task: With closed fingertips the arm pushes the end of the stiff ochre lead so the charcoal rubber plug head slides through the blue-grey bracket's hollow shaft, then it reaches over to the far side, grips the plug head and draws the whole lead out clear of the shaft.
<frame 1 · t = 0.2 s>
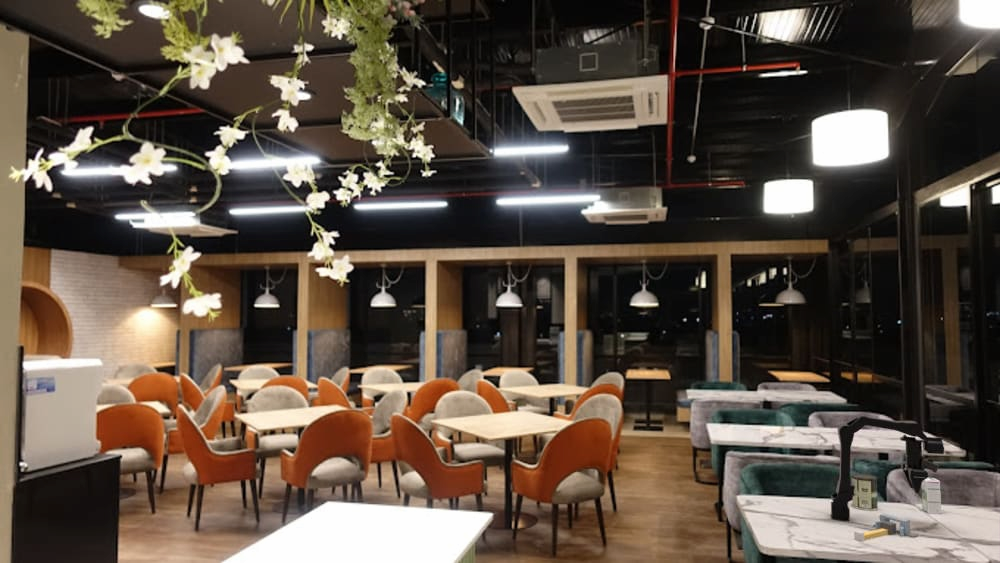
hand: (914, 490, 272), 15 cm above the table, fingers open, 9 cm apart
syrup box: (931, 512, 293), on the table
plug: (888, 533, 262), on the table
coffee can: (864, 508, 299), on the table
blue-grey bracket: (895, 531, 264), on the table
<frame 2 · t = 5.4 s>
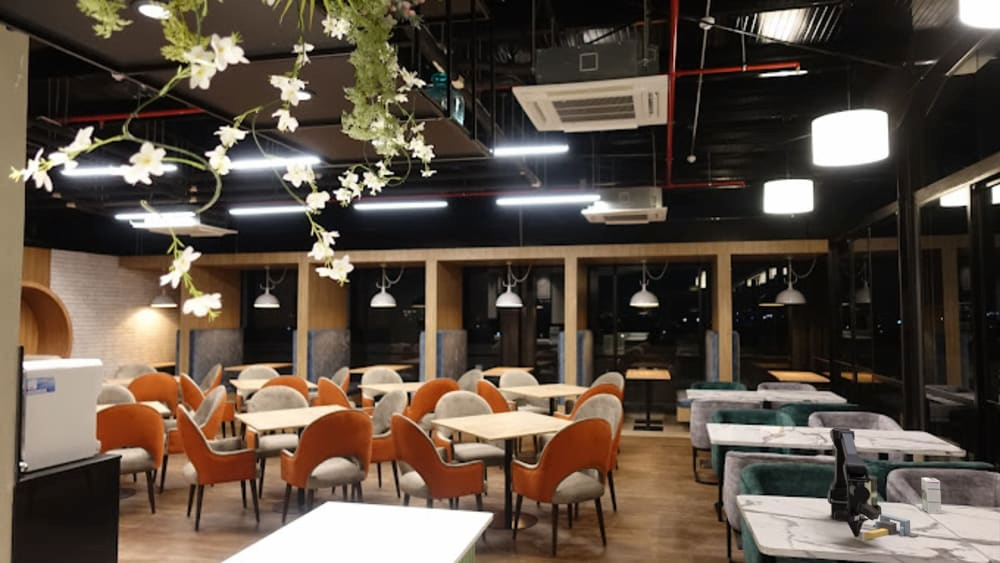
hand: (856, 536, 252), 1 cm above the table, fingers closed
plug: (888, 532, 262), on the table, touching gripper
everything else where it was.
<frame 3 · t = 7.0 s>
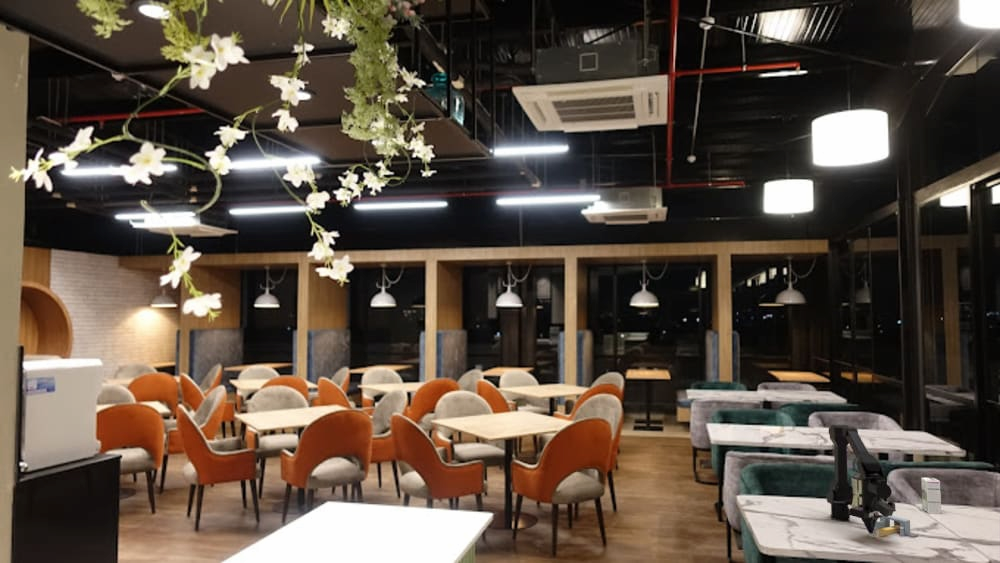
hand: (870, 533, 256), 2 cm above the table, fingers closed
plug: (902, 529, 266), on the table, touching gripper
everything else where it was.
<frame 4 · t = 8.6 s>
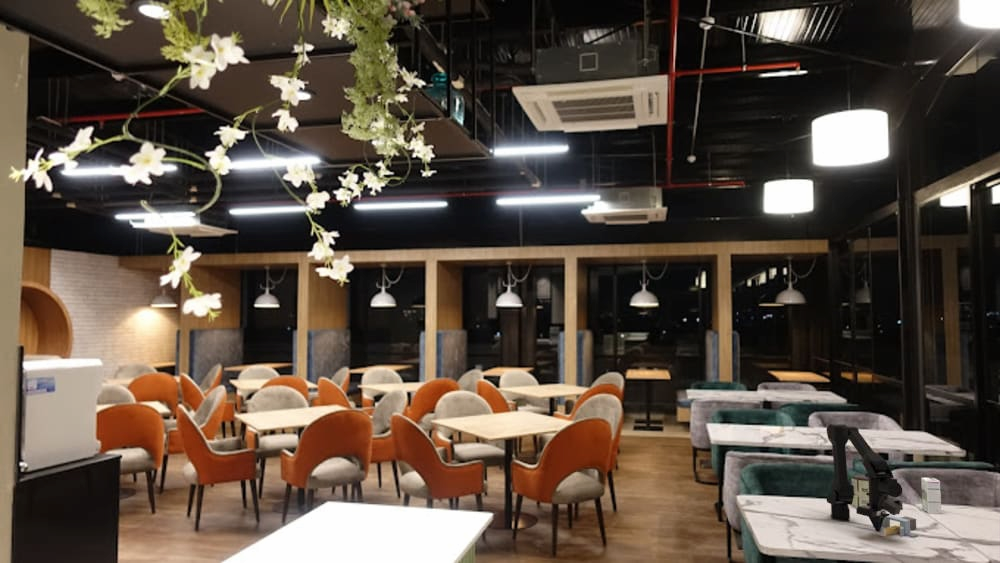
hand: (877, 531, 258), 2 cm above the table, fingers closed
plug: (908, 528, 269), on the table, touching gripper
everything else where it was.
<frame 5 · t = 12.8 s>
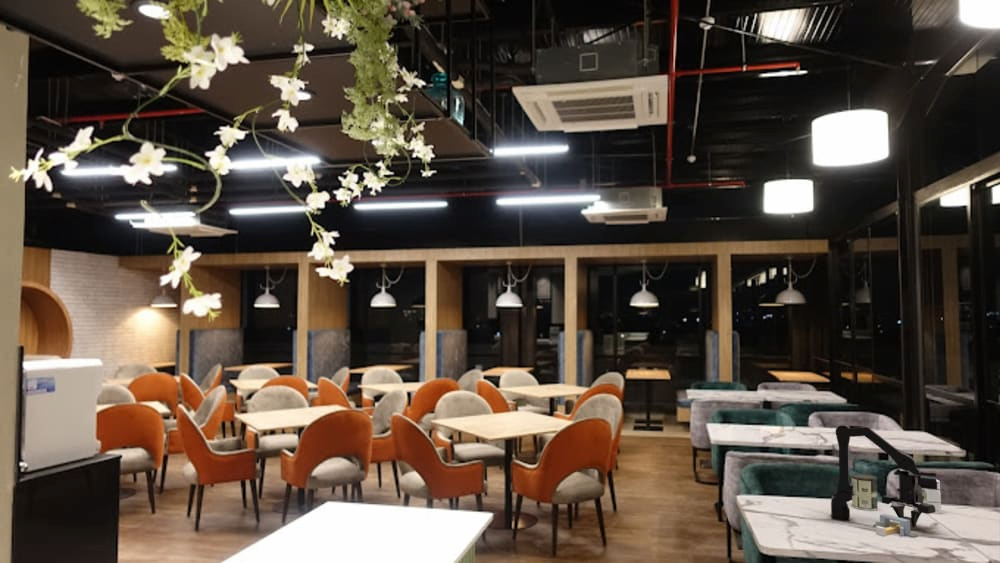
hand: (908, 525, 269), 1 cm above the table, fingers closed on plug, 4 cm apart
plug: (908, 528, 269), on the table, touching gripper
everything else where it was.
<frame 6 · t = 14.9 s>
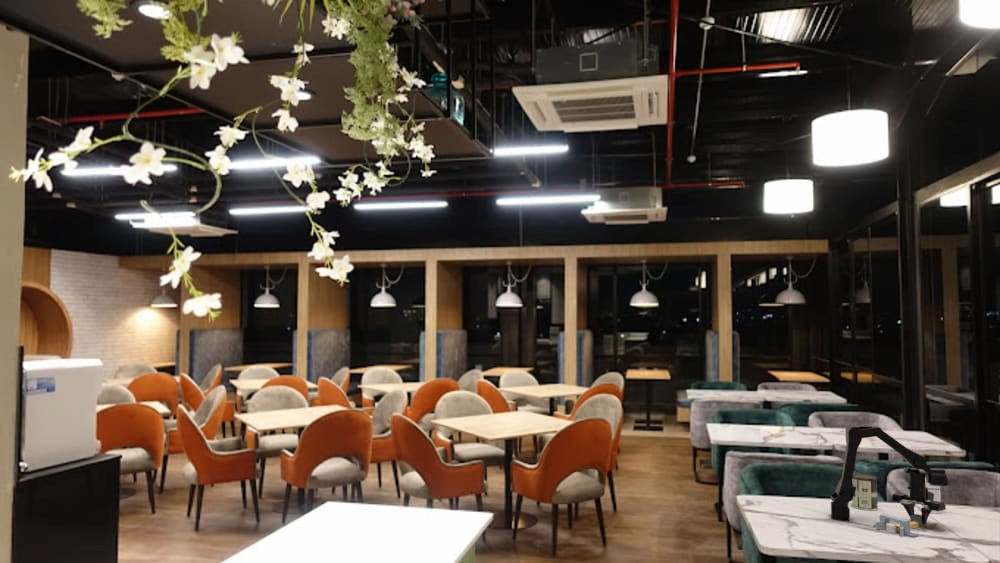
hand: (918, 522, 272), 1 cm above the table, fingers closed on plug, 4 cm apart
plug: (918, 525, 272), on the table, touching gripper
everything else where it was.
when the fingers open (1 cm above the table, at t = 17.0 s): plug stays where it is, on the table.
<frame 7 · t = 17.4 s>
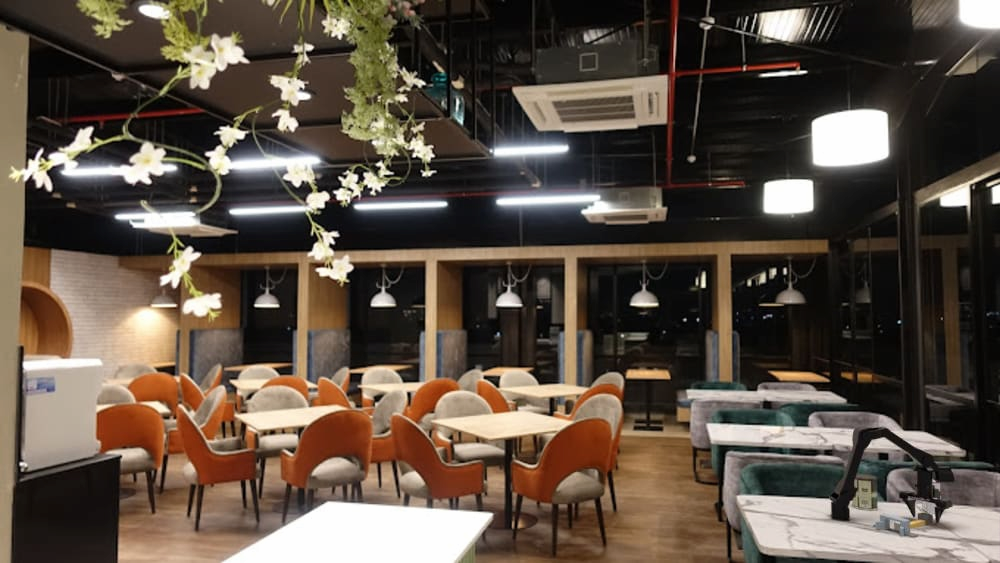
hand: (925, 520, 275), 1 cm above the table, fingers open, 9 cm apart
plug: (925, 524, 275), on the table
everything else where it was.
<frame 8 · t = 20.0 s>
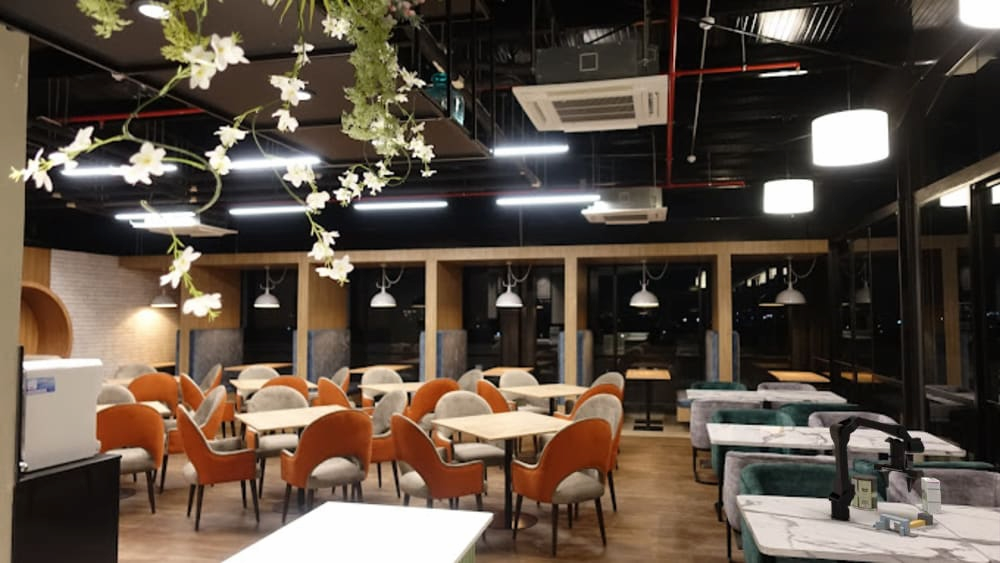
hand: (898, 490, 283), 12 cm above the table, fingers open, 9 cm apart
nothing on the table moved.
at the end: plug inside the target area on the table beside the blue-grey bracket (0.3 cm from its centre), on the table; plug on the table; the gripper is holding nothing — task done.
